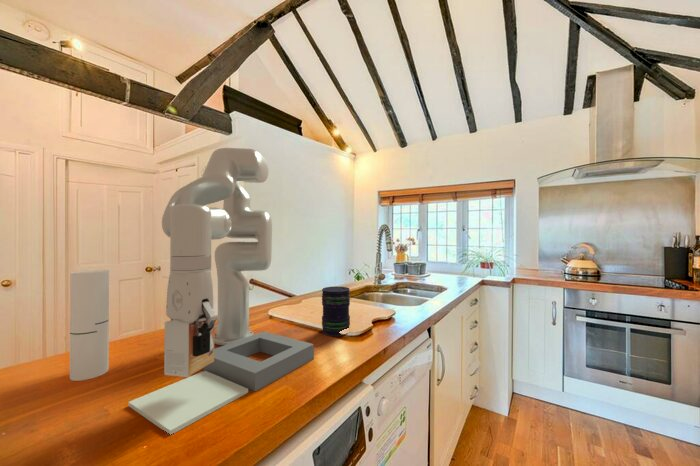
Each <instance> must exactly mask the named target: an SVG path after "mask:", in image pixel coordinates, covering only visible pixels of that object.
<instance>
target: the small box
mask: <svg viewBox="0 0 700 466" xmlns="http://www.w3.org/2000/svg"><path fill="white" fill-rule="evenodd" d="M201 318H203V316H201V317H199V318H198V319H201ZM215 323H216V322H215ZM215 323H214V327H215V325H216V324H215ZM203 324H204V322H202V323H199V326H200V328H201V326H202V325H203ZM214 327H213V328H212V332H211V333H210V351H209V352H208V353H205V354H203V355H200V356H197V357H195V356H193V336H196V334H195V330H194V322H193V323H191V324H189V323H185V322H181V321H178V320H171V319H170V320H167V321H165V322H164V354H163V356H164V360H163V361H164V369H163V370H164V371H163V372H164V373H163V374H164V375H165V376H172V377H184V378H188V377H190V376H193V374H194V375H195V374H196V373H197V372H198V371H200V370H203V369H202V368H203V367H205V366H207V365H208V364H210V363H212V362H214V349H215V344H214V335H215V330H216V329H215V328H214Z"/></svg>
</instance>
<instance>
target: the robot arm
mask: <svg viewBox="0 0 700 466" xmlns="http://www.w3.org/2000/svg"><path fill="white" fill-rule="evenodd" d="M268 177H269V164H268V161H267V160H266V158H265V157H264V155H262V154H261V152H259V151H258V150H256V149H254V148H253V149H252V148H241V147H238V148H237V147H221V148H218V149H215V150H214V151H213V152H212V153H211V155H210V157H209V160H208V162H207V164H206V166H205V169H204V171H203V174H202V176H201V177H199V178H196V179H195V180H193V181H192V182H190V183H188V184H186V185H183V187H180V188H179V189H177V190H176V191H175V192H174V194H172V196H171V197H170V199H169V201H168V202H167V205H166V207H165V209H164V211H163V214H162V217H161V229H162V232H163V234H164V235H165V236H167V237H168V238H169V239H170V240H169V241H170V243H169V245H170V246H169V247H170V248H169V249H170V251H169V253H170V254H169V255H170V257H169V276H168V283H167V291H166V303H165V304H166V307H165V308H166V309H165V310H166V312H165V314H166V317H168V318H169V320H170V321H171V320H178V321H181V322H185V323H189V324H191V323H193V322H194V330H195V334H196V336H193V356H195V357H197V356H200V355H203V354H205V353H208V352H209V351H210V333H211V332H212V328H213V327H214V323H216V321H217V324H215V327H214V328H215V329H214V330H216V334H214V345H218V346H224V345H227V344H230V343H232V342H235V341H238V340H241V339H244V338H246V337H249V336H252V335H255V334H254V333H255V332H254V331H252V330H251V329H250V284H249V281H248V279H247V278H246V276H245V275H244V274H243V273H242V272H250V271H251V272H257V271H260V272H261V271H266V270H268V269H269V268H270V266H271V262H272V250H273V249H272V248H273V247H272V245H273V243H272V242H273V241H272V240H273V239H272V237H273V223H272V217H271V215H270V214H269V213H268V212H267V211H265V210H254V209H253V210H251V197H250V195H249V193H248V192H247V190H246V189H245V188H244V187H243V186H242V185H241V184H240V183H251V184H252V183H255V184H258V183H264V182H266V180H267V179H268ZM221 201H223V204H222V205H223V208H220V207H208V206H207V205H211V204H215V203H218V202H221ZM224 238H230V239H254V240H257V241H226V242H223V243H220V244H218V246H217V247H216V248H215V250H214V262H215V268H216V274H217V314H216V312H215V310H214V286H213V278H212V240H213V241H214V240H221V239H224ZM201 316H203V318H201V319H198V318H199V317H201ZM202 322H204V324H203V325H202V326H201V328H200V326H199V323H202Z"/></svg>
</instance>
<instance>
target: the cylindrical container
mask: <svg viewBox="0 0 700 466" xmlns="http://www.w3.org/2000/svg"><path fill="white" fill-rule="evenodd" d="M69 279H70V280H69V283H70V285H69V380H70V381H73V382H74V381H75V382H77V381H78V382H79V381H86V380H90V379H94V378H98V377H99V376H102V375H104V374H106V373H107V372H108V371H109V359H110V358H109V351H110V350H109V349H110V348H109V346H110V345H109V343H110V342H109V341H110V335H109V332H110V326H109V325H110V324H109V323H110V270H109V269H89V270H88V269H87V270H78V271H77V270H76V271H75V270H74V271H71V272H70V275H69Z"/></svg>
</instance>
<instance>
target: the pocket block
mask: <svg viewBox="0 0 700 466" xmlns="http://www.w3.org/2000/svg"><path fill="white" fill-rule="evenodd" d="M259 352H260V353H264V354H267V355H270V356H271V357H268V358H266V359H264V360H262V361H259V360H256V359H254V358H249V357H250V356H253V355H255V354H257V353H259ZM314 359H315V344H314V343H311V342H307V341H303V340H298V339H294V338H292V337H287V336H283V335H279V334H276V333H271V332H267V331H261V332H258V333H256V334H254V335H252V336H249V337H246V338H244V339H241V340H238V341H235V342H232V343H230V344H227V345H220V346H219V347H216V348H215V347H214V362H212V363H210V364H208V365H207V366H205V367H203V368H202V369H201V370H203V371H207V372H210V373H212V374H214V375H217V376H219V377H222V378H224V379H226V380H229V381H231V382H233V383H236V384H238V385H240V386H243V387H245V388H248V390H249V391H253V392H257V391H259V390H260V389H263V388H264V387H267V386H268V385H270V384H272V383H273V382H276V381H277V380H279V379H280V378H282V377H284V376H286V375H288V374H289V373H292V372H293V371H295V370H297V369H298V368H300V367H302V366H304V365H305V364H307V363H308V362H311V361H312V360H314Z"/></svg>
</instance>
